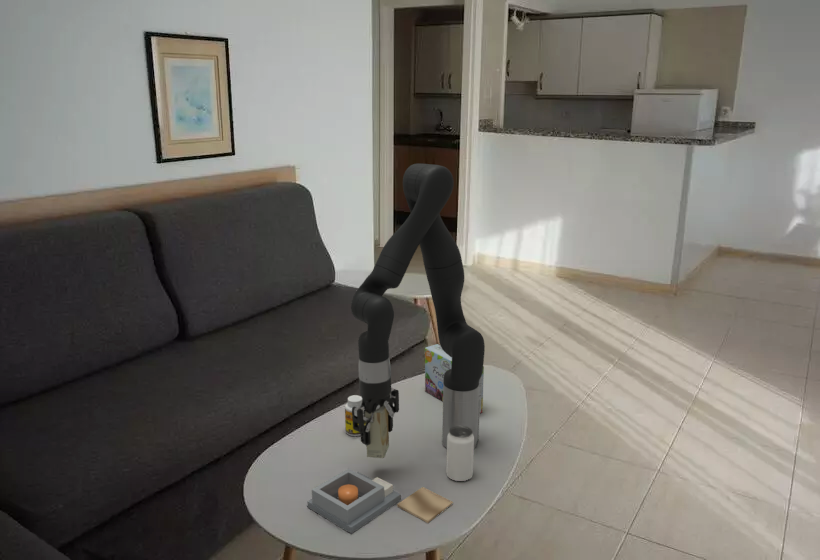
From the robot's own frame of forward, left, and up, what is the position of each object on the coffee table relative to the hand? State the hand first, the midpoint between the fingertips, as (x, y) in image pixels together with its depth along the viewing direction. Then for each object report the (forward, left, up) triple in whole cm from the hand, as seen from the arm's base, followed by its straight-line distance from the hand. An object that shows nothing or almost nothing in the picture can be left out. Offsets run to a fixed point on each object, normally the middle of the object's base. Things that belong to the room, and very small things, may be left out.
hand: (377, 437), depth 161 cm
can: (-13, +16, -10) cm, 23 cm away
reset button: (+14, +5, -8) cm, 17 cm away
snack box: (-43, -9, -10) cm, 45 cm away
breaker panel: (+12, +5, -10) cm, 16 cm away
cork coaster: (+2, +17, -10) cm, 20 cm away
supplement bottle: (-11, -18, -10) cm, 24 cm away
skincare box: (0, 0, -4) cm, 4 cm away
